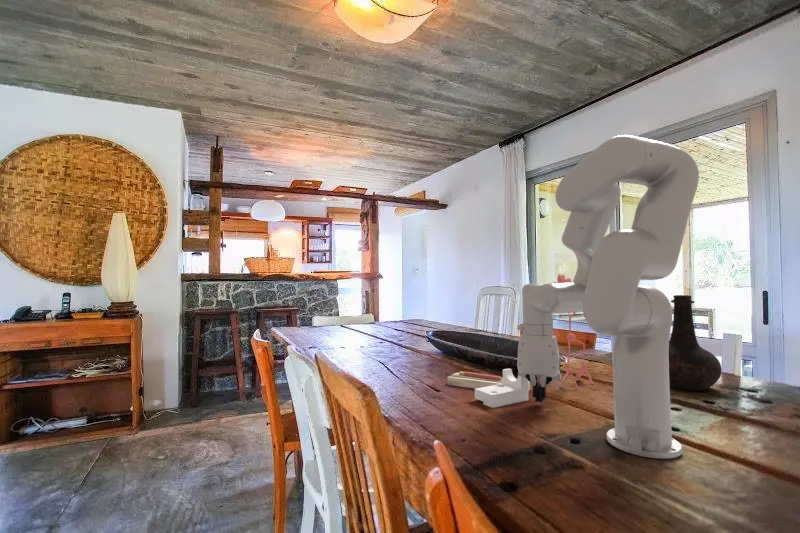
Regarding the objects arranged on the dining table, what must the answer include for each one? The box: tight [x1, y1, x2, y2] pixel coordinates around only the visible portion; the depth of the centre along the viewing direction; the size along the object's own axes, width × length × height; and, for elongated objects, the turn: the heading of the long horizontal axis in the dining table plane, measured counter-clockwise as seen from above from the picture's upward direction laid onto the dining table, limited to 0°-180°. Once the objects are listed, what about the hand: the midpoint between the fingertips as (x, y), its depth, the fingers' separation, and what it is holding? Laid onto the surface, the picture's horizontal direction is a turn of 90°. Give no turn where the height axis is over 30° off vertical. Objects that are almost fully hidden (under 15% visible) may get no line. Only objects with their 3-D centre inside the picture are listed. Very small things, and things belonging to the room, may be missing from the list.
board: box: [447, 372, 531, 392], centre depth 118 cm, size 7×24×2 cm, turn 59°
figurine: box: [538, 273, 606, 390], centre depth 123 cm, size 15×26×35 cm, turn 127°
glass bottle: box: [669, 294, 723, 392], centre depth 117 cm, size 18×18×28 cm
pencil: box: [458, 371, 503, 381], centre depth 121 cm, size 14×1×1 cm, turn 54°
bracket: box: [474, 368, 529, 409], centre depth 105 cm, size 13×7×8 cm, turn 118°
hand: (539, 400), depth 100 cm, fingers closed
